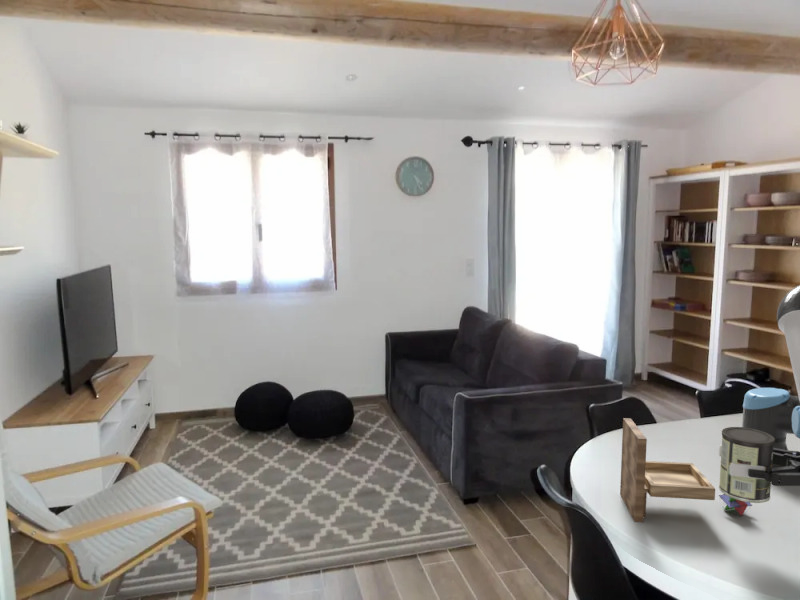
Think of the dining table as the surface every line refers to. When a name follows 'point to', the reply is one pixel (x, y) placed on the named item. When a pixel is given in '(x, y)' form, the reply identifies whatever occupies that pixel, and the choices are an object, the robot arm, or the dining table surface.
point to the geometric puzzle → (735, 504)
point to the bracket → (655, 475)
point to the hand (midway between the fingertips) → (724, 459)
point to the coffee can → (745, 450)
